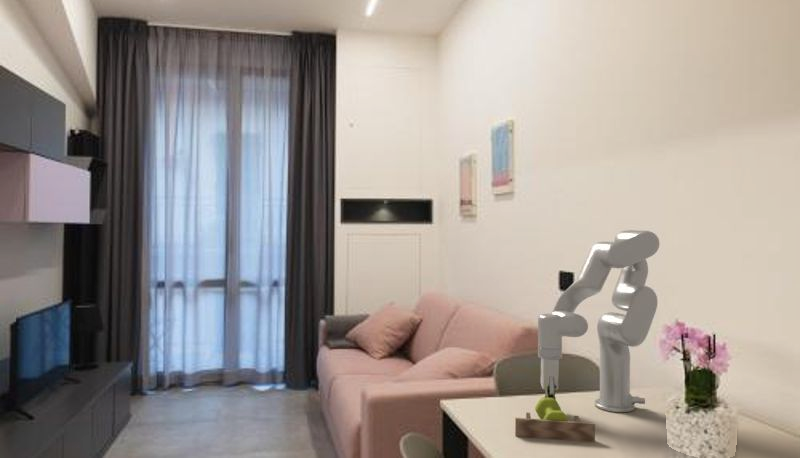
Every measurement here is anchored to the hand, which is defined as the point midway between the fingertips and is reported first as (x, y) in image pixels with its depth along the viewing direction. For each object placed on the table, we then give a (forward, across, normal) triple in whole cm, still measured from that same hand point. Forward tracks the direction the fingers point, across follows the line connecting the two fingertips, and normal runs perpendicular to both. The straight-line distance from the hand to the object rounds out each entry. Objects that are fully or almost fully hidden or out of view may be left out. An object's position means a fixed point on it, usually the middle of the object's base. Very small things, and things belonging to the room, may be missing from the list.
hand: (550, 408), depth 187 cm
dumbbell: (+2, +14, -1) cm, 14 cm away
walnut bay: (+1, +17, -1) cm, 17 cm away
